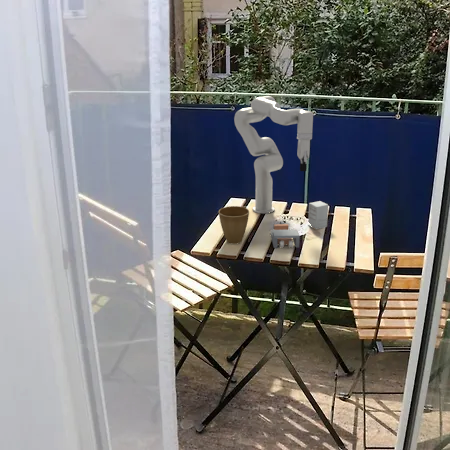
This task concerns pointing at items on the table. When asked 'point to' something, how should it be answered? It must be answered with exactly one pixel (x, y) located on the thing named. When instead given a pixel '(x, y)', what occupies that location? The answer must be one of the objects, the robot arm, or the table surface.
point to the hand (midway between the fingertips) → (303, 170)
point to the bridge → (285, 234)
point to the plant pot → (234, 223)
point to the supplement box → (318, 214)
